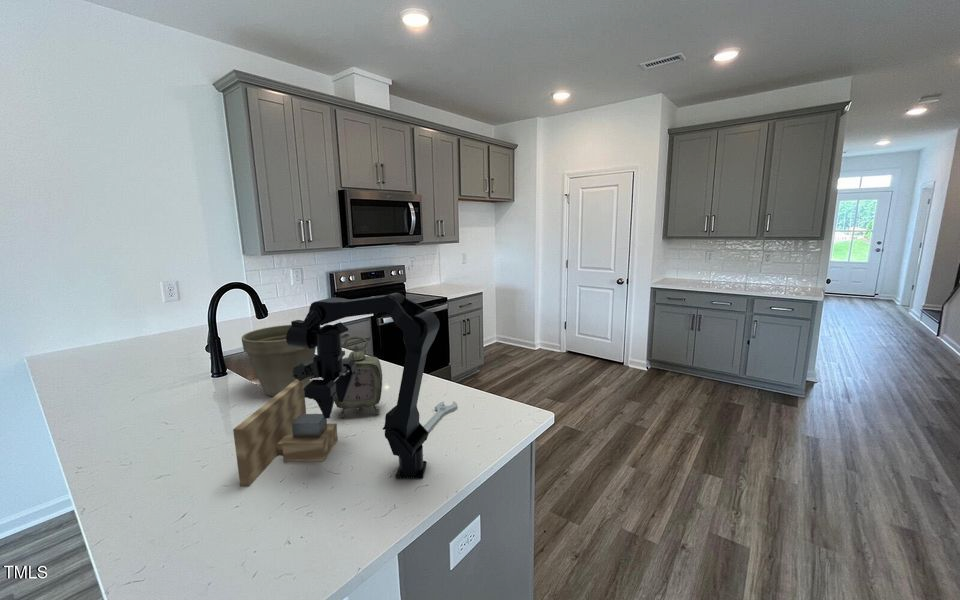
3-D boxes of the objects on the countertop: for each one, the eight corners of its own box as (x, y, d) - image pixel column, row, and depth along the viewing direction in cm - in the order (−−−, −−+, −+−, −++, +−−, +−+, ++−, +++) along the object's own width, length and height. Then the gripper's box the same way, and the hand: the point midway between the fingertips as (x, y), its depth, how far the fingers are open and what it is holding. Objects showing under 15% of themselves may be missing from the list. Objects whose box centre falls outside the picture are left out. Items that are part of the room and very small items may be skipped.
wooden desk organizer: (305, 486, 90) (300, 429, 88) (240, 486, 90) (233, 429, 88) (349, 422, 120) (346, 378, 117) (300, 422, 120) (296, 378, 117)
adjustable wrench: (419, 445, 108) (419, 439, 108) (399, 441, 110) (399, 435, 110) (459, 407, 131) (459, 402, 130) (442, 404, 133) (442, 399, 133)
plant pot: (252, 382, 152) (246, 327, 148) (321, 372, 162) (317, 320, 158) (243, 408, 130) (236, 344, 126) (324, 395, 139) (319, 336, 136)
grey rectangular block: (320, 452, 102) (318, 423, 101) (294, 452, 102) (291, 423, 101) (328, 441, 107) (326, 413, 106) (303, 441, 107) (301, 413, 106)
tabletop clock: (334, 421, 121) (328, 341, 116) (338, 408, 130) (333, 334, 125) (383, 416, 124) (379, 339, 119) (384, 404, 132) (380, 331, 128)
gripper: (313, 339, 106) (317, 394, 109) (277, 362, 88) (284, 428, 91) (354, 339, 106) (358, 394, 109) (327, 362, 88) (332, 427, 90)
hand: (334, 409), depth 100 cm, fingers open, 9 cm apart
